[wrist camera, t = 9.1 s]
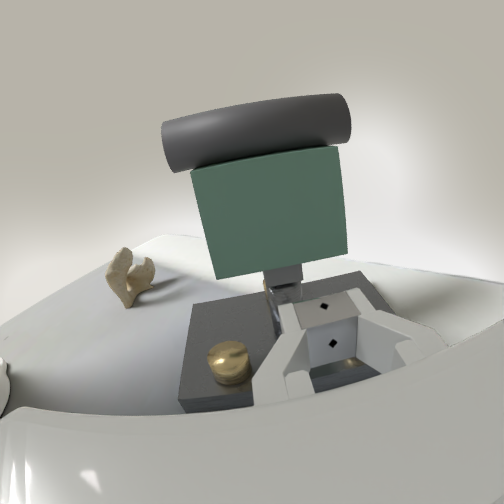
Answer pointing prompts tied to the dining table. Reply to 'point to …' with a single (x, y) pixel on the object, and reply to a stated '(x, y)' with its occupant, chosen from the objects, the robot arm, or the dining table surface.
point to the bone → (129, 276)
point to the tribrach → (257, 343)
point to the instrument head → (266, 182)
